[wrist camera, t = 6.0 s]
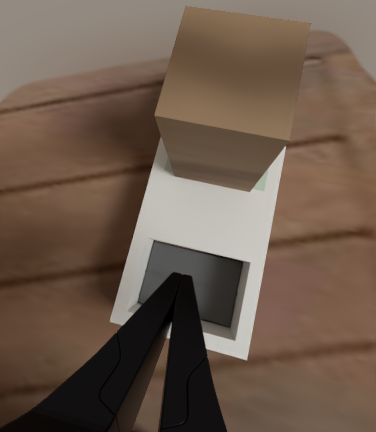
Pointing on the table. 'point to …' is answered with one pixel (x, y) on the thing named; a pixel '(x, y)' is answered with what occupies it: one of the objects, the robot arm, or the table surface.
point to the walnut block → (230, 95)
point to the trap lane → (202, 249)
